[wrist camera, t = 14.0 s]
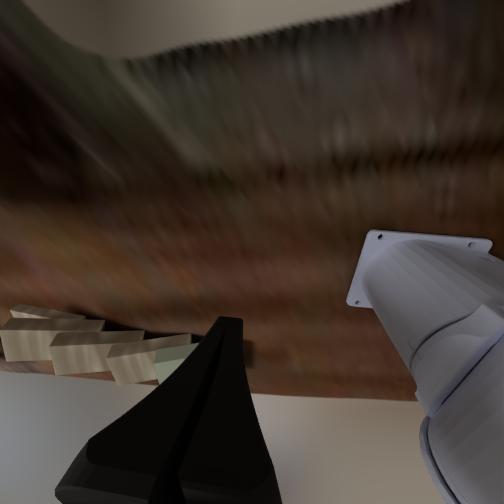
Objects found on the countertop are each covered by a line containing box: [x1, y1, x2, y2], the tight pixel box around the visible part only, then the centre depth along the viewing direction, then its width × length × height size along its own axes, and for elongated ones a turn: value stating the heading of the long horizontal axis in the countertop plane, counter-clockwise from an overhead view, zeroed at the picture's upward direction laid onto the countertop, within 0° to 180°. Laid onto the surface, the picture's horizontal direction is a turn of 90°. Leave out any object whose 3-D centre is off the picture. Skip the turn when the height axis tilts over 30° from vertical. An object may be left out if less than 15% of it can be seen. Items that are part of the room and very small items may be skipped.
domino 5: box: [154, 343, 199, 384], centre depth 25 cm, size 2×5×9 cm
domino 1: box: [10, 304, 86, 320], centre depth 28 cm, size 2×5×9 cm
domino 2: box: [0, 318, 105, 361], centre depth 25 cm, size 2×5×9 cm
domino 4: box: [106, 333, 193, 386], centre depth 26 cm, size 2×5×9 cm
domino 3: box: [49, 330, 145, 375], centre depth 26 cm, size 2×5×9 cm
